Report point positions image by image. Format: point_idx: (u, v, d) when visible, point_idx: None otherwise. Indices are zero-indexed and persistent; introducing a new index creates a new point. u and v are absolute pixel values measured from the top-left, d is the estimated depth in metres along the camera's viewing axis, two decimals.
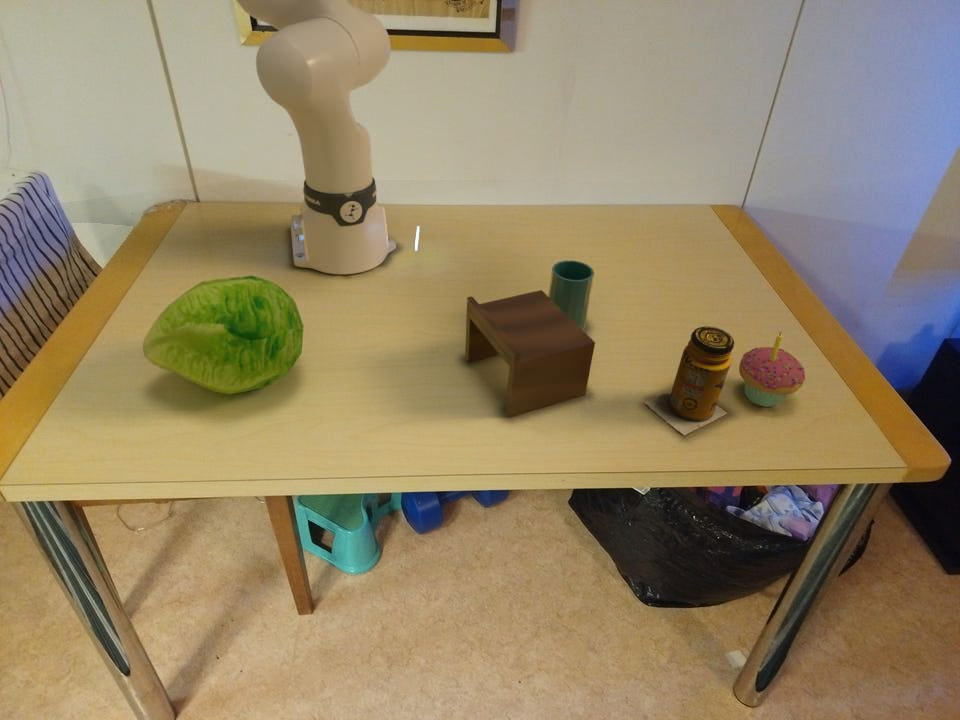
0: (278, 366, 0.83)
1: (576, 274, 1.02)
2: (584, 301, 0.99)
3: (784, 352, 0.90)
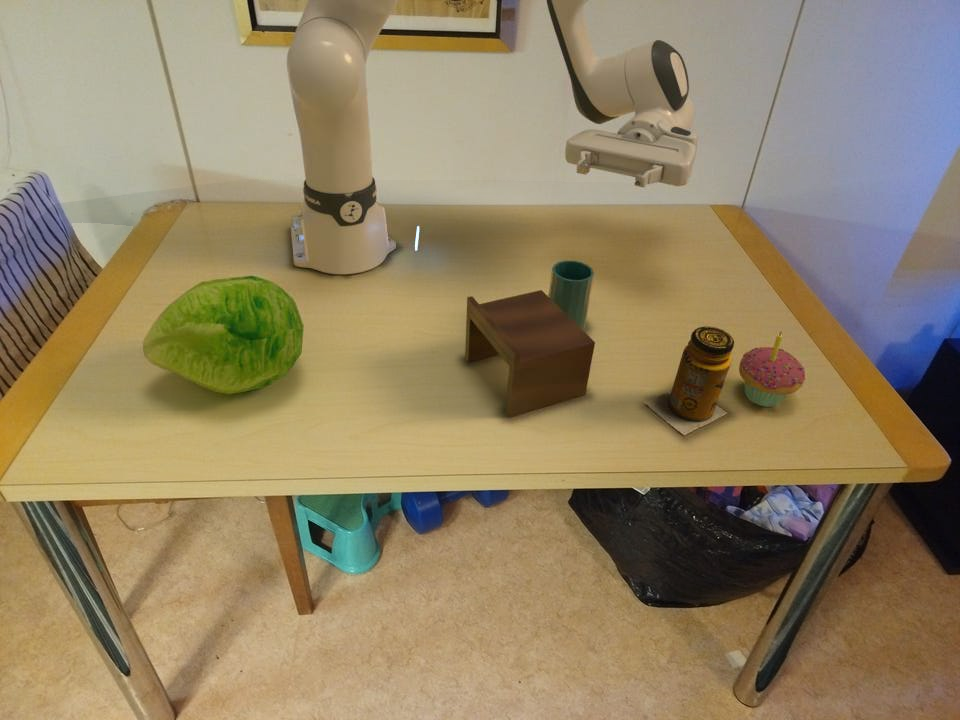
0: (278, 366, 0.83)
1: (576, 274, 1.02)
2: (584, 301, 0.99)
3: (784, 352, 0.90)
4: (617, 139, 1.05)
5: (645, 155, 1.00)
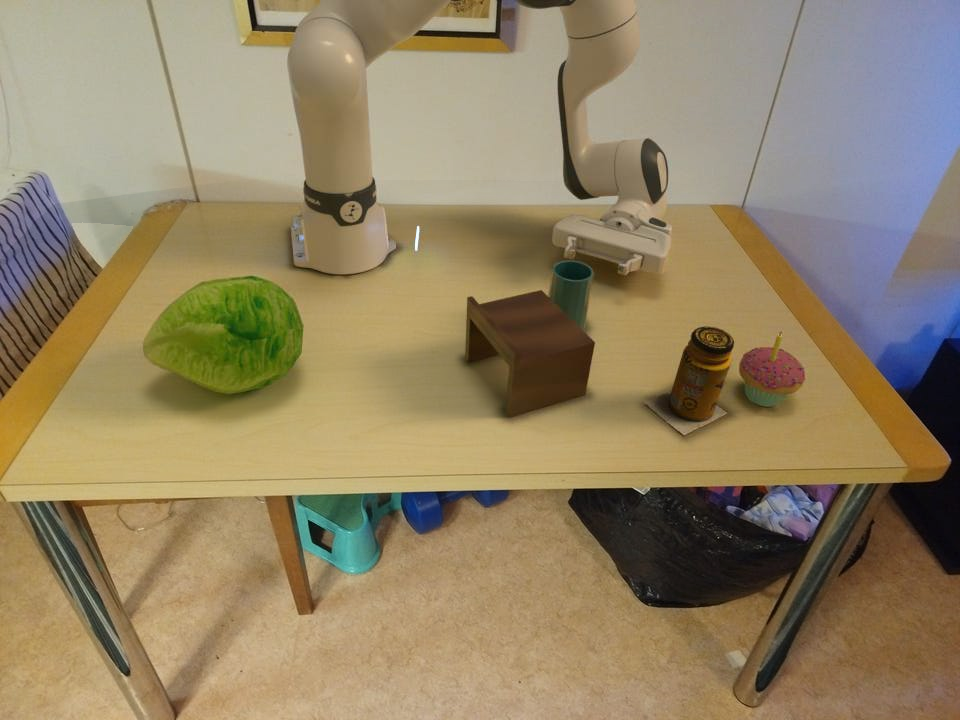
0: (278, 366, 0.83)
1: (576, 274, 1.02)
2: (584, 301, 0.99)
3: (784, 352, 0.90)
4: (600, 226, 1.15)
5: (626, 244, 1.09)
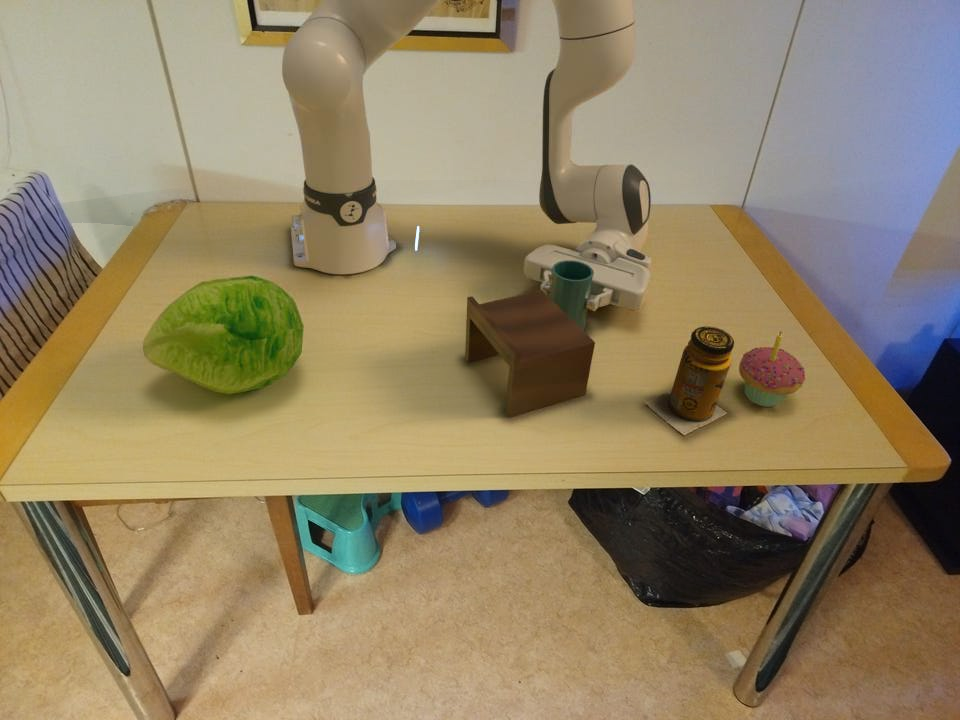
0: (278, 366, 0.83)
1: (576, 274, 1.02)
2: (584, 301, 0.99)
3: (784, 352, 0.90)
4: (574, 257, 1.08)
5: (602, 279, 1.02)
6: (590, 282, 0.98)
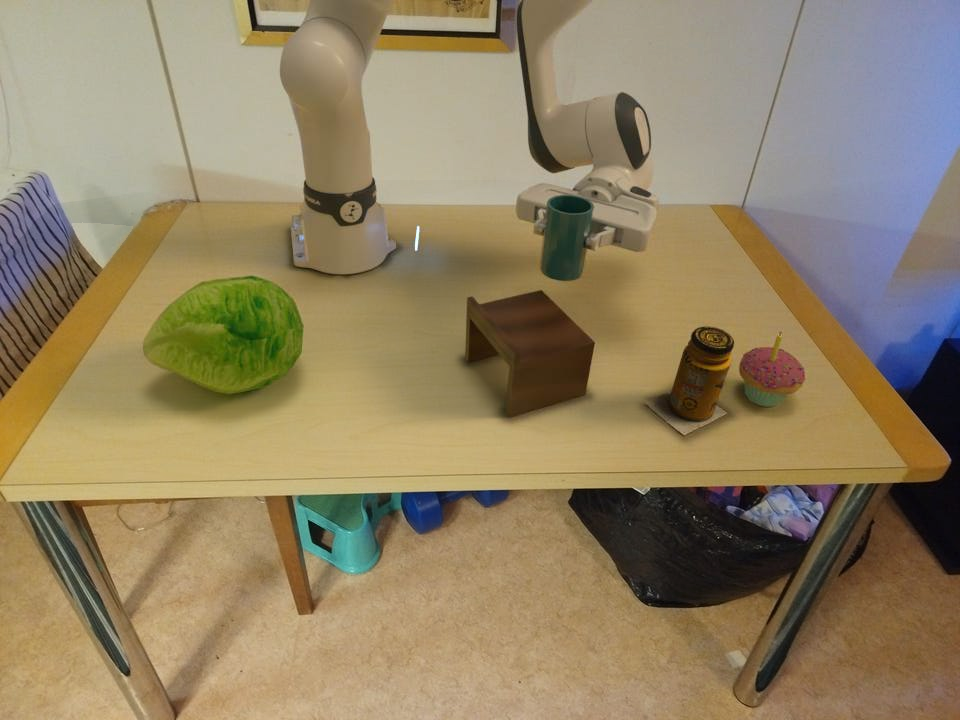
0: (278, 366, 0.83)
1: (574, 211, 0.91)
2: (583, 239, 0.88)
3: (784, 352, 0.90)
4: None
5: (603, 217, 0.91)
6: (590, 217, 0.87)
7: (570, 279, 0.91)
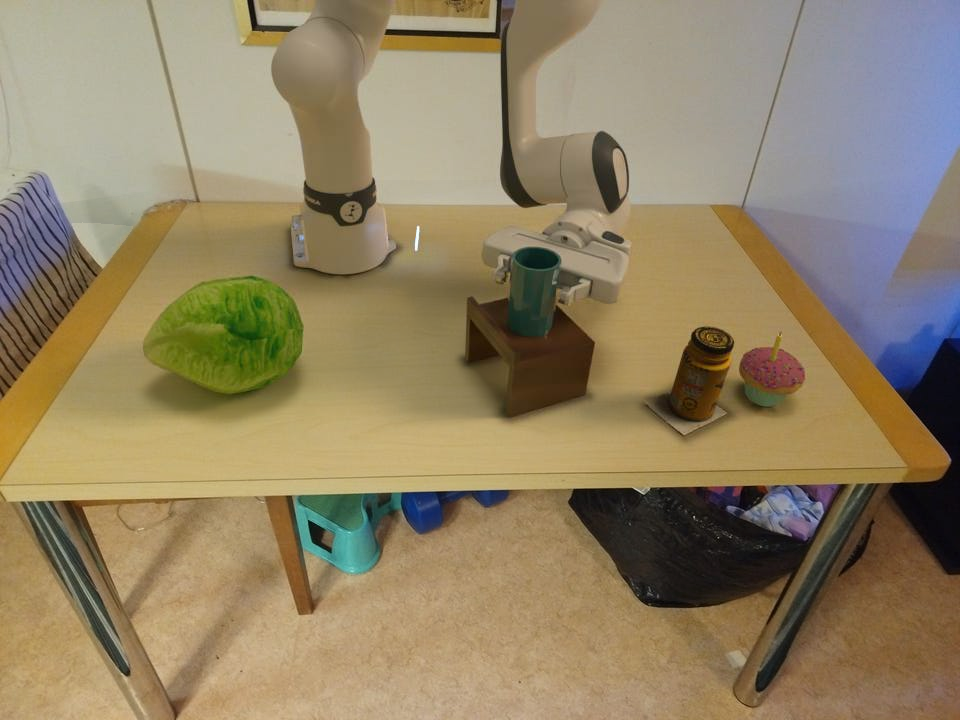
0: (278, 366, 0.83)
1: (542, 263, 0.86)
2: (550, 295, 0.83)
3: (784, 352, 0.90)
4: (541, 241, 0.91)
5: (571, 266, 0.86)
6: (557, 272, 0.82)
7: (538, 335, 0.86)
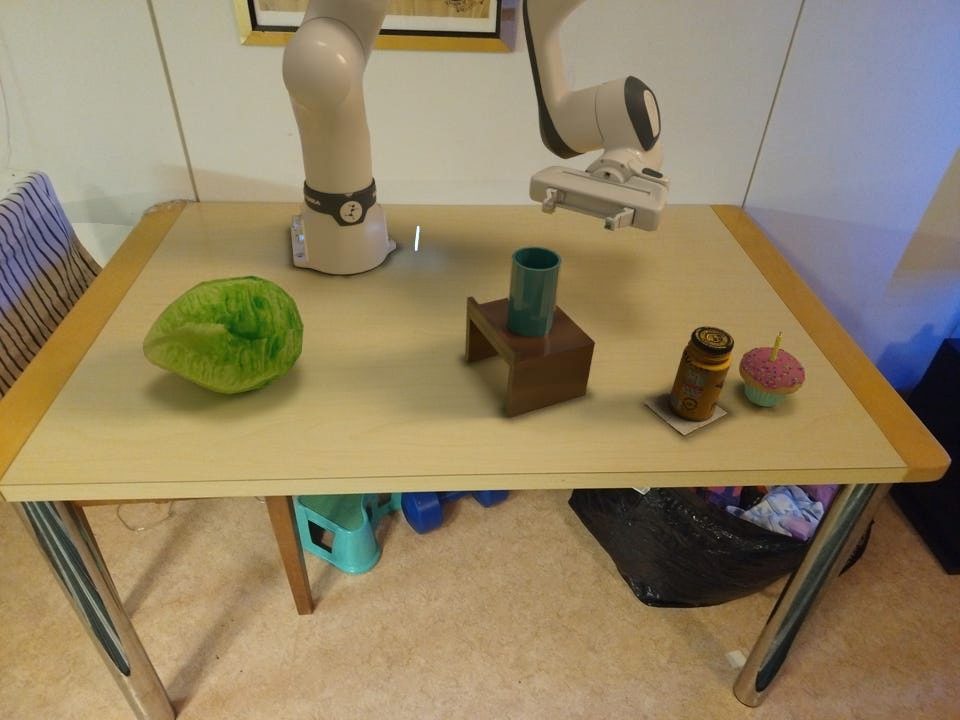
0: (278, 366, 0.83)
1: (542, 263, 0.86)
2: (550, 295, 0.83)
3: (784, 352, 0.90)
4: (585, 178, 0.98)
5: (615, 196, 0.93)
6: (557, 272, 0.82)
7: (538, 335, 0.86)
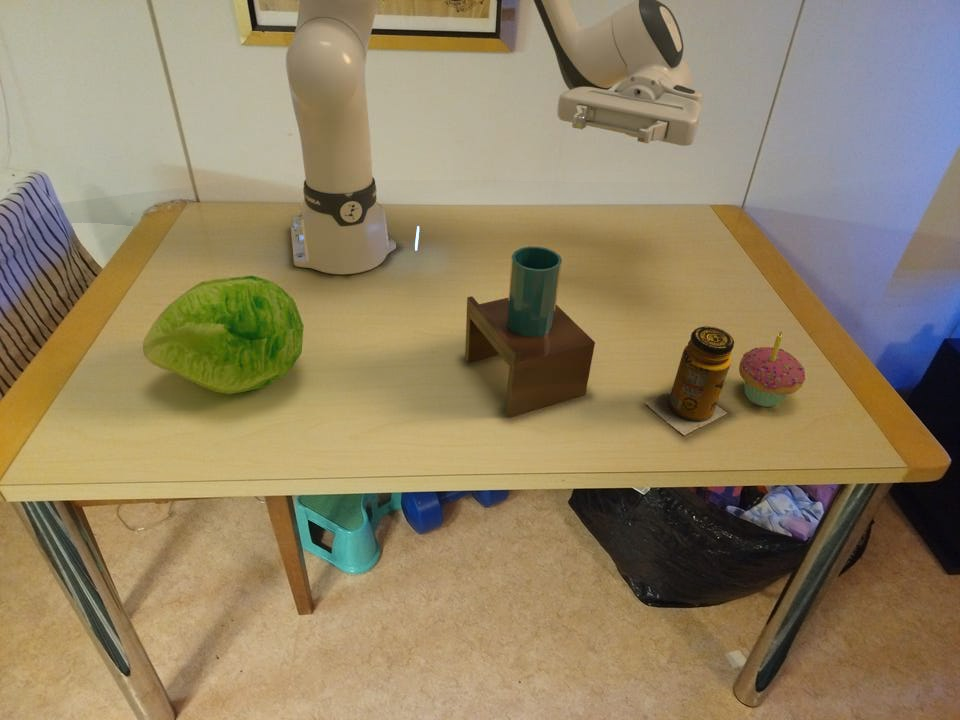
0: (278, 366, 0.83)
1: (542, 263, 0.86)
2: (550, 295, 0.83)
3: (784, 352, 0.90)
4: (615, 96, 0.96)
5: (648, 110, 0.90)
6: (557, 272, 0.82)
7: (538, 335, 0.86)
